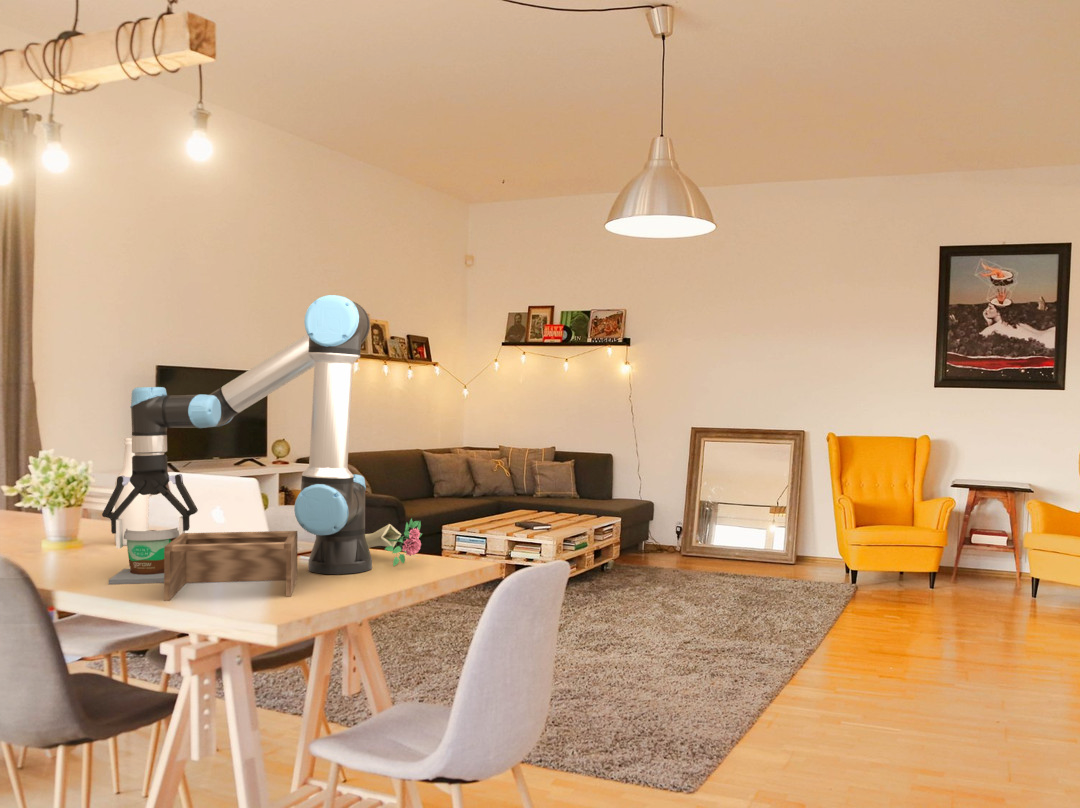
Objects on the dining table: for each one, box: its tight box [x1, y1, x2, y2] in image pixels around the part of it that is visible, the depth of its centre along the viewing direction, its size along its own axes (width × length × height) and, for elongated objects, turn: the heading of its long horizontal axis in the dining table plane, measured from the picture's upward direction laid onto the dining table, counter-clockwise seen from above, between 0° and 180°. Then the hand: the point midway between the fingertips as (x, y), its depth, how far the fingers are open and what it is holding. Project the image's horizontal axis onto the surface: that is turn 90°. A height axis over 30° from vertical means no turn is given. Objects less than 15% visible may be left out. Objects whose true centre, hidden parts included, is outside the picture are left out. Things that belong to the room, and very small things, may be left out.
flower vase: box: [365, 518, 423, 567], centre depth 240 cm, size 12×12×35 cm
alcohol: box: [114, 437, 150, 547], centre depth 266 cm, size 9×9×30 cm
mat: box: [107, 568, 164, 585], centre depth 215 cm, size 14×14×1 cm
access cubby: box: [163, 530, 298, 602], centre depth 203 cm, size 25×20×11 cm
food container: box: [124, 527, 179, 575], centre depth 215 cm, size 12×6×10 cm, turn 98°
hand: (151, 546), depth 215 cm, fingers open, 13 cm apart
